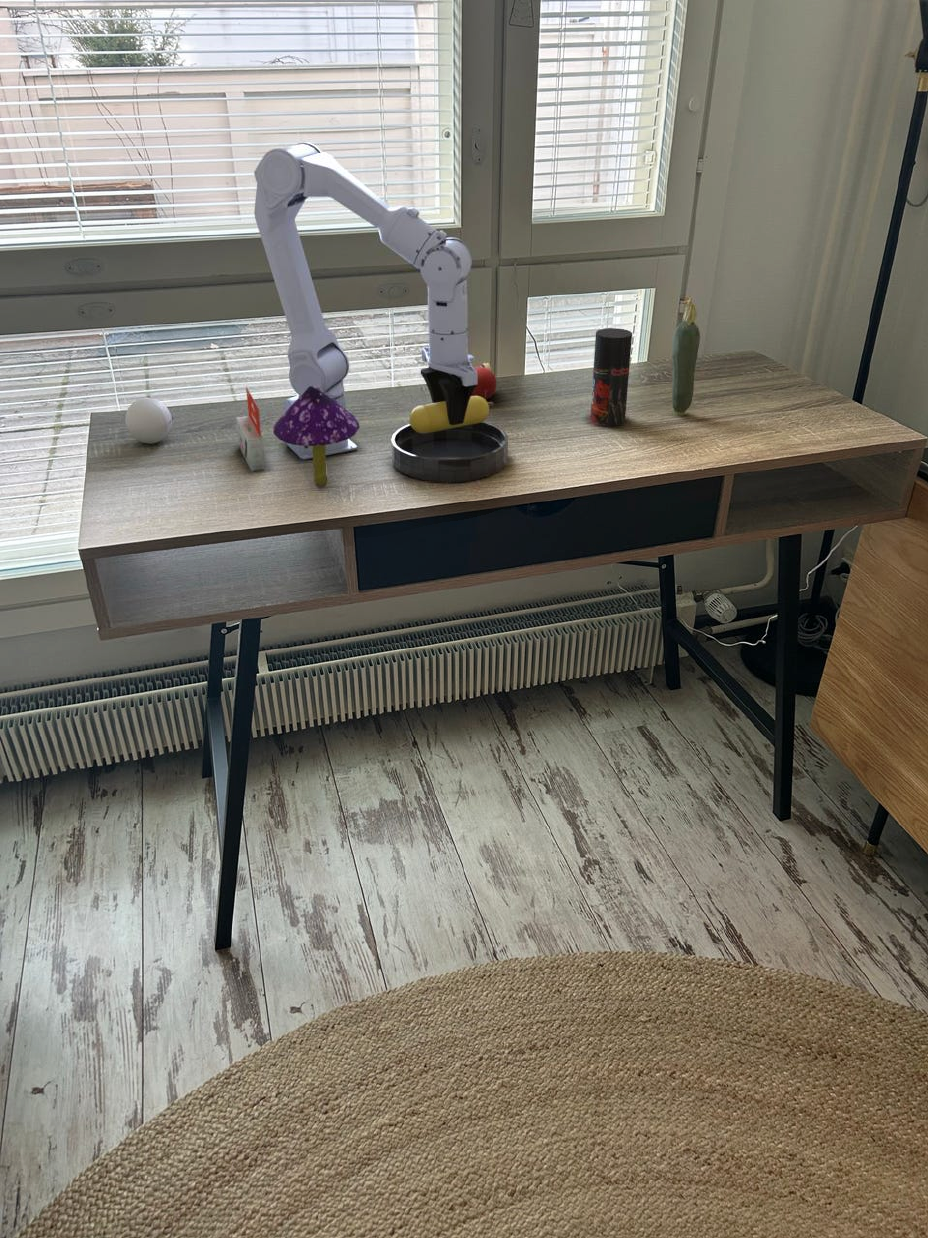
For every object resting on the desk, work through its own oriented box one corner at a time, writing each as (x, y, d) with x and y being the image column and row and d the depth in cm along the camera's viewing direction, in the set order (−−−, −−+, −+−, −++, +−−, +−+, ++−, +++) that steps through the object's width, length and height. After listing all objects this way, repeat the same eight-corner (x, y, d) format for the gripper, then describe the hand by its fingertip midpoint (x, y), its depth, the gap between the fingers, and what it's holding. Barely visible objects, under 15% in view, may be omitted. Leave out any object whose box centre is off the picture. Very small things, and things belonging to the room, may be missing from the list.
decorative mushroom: (304, 509, 135) (293, 407, 127) (265, 481, 144) (252, 383, 136) (379, 488, 141) (373, 388, 134) (337, 461, 150) (329, 367, 142)
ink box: (251, 472, 147) (243, 411, 142) (239, 446, 156) (231, 388, 151) (267, 469, 147) (259, 409, 142) (254, 444, 156) (246, 386, 151)
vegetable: (692, 420, 165) (706, 301, 154) (667, 420, 165) (680, 301, 154) (687, 411, 168) (701, 294, 158) (663, 411, 168) (675, 295, 158)
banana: (417, 439, 143) (416, 412, 141) (405, 430, 146) (404, 404, 144) (499, 423, 149) (499, 397, 146) (486, 415, 152) (486, 389, 150)
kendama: (436, 384, 186) (460, 401, 170) (440, 351, 184) (465, 365, 168) (474, 388, 188) (501, 405, 172) (478, 355, 186) (507, 369, 170)
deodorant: (631, 423, 163) (639, 335, 156) (600, 428, 162) (606, 339, 154) (614, 412, 168) (620, 326, 160) (584, 417, 166) (589, 330, 158)
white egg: (174, 448, 155) (166, 404, 151) (127, 451, 154) (118, 407, 150) (179, 427, 164) (172, 385, 160) (134, 429, 163) (126, 387, 159)
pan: (423, 492, 140) (422, 468, 138) (374, 452, 153) (373, 429, 151) (528, 469, 147) (529, 446, 145) (473, 432, 160) (473, 410, 158)
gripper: (496, 337, 135) (495, 429, 143) (449, 314, 146) (451, 400, 154) (452, 344, 133) (453, 437, 140) (408, 320, 144) (411, 408, 151)
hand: (449, 418), depth 147 cm, fingers closed on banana, 4 cm apart
